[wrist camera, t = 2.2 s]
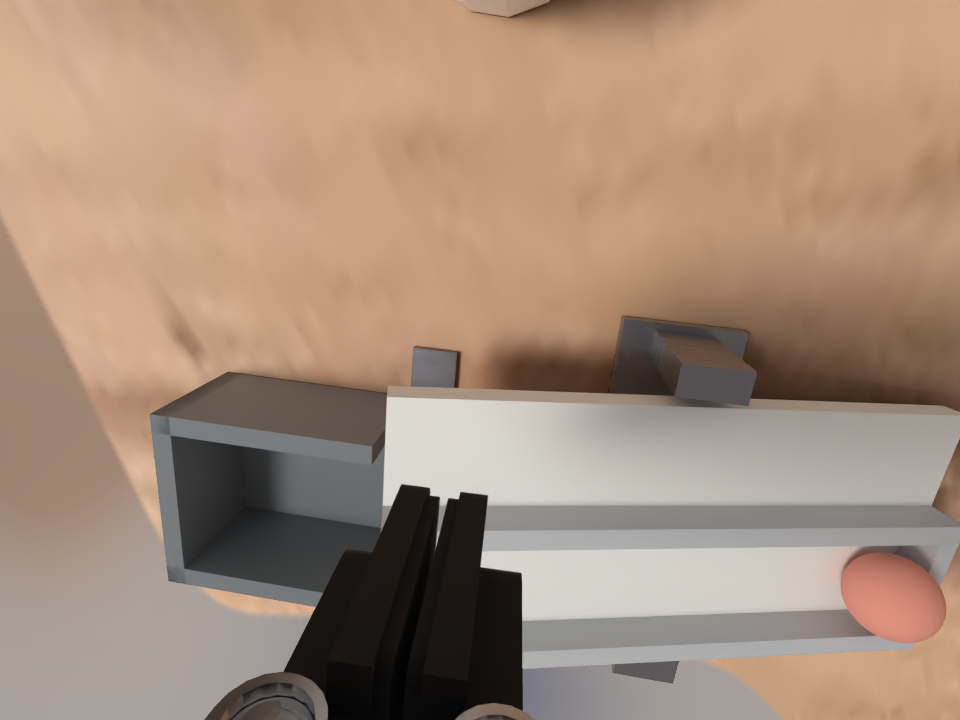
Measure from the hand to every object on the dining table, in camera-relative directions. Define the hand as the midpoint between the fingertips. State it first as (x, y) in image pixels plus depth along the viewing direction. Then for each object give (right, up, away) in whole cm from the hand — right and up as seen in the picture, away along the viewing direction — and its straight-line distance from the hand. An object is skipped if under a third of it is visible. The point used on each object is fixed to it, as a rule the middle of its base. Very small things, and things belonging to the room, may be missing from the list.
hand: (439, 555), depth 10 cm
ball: (+17, -5, +10) cm, 20 cm away
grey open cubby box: (-7, -1, +16) cm, 18 cm away
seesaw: (+8, -2, +10) cm, 13 cm away
